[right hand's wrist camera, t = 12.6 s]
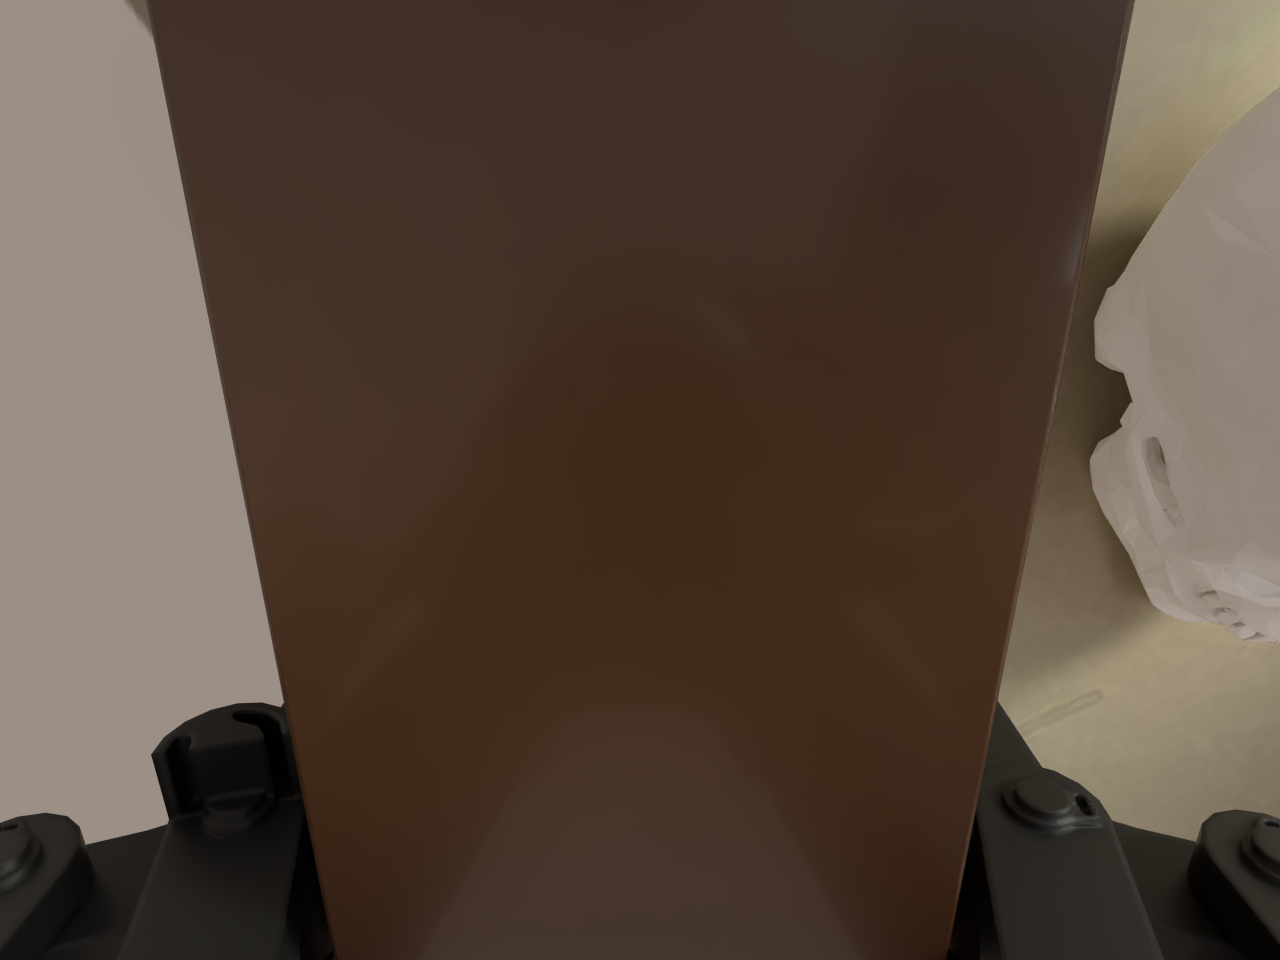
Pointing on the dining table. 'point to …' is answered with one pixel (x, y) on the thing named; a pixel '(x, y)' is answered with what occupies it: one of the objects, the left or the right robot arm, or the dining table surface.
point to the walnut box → (640, 442)
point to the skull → (1203, 390)
